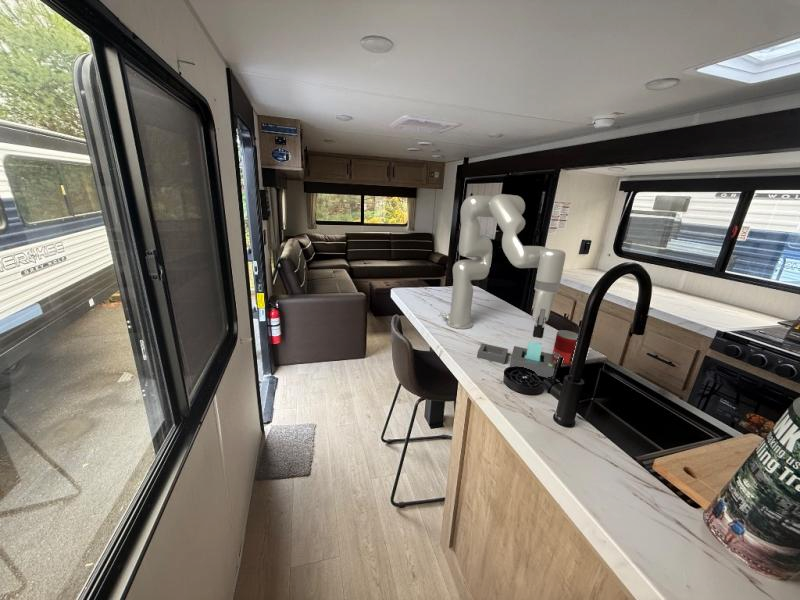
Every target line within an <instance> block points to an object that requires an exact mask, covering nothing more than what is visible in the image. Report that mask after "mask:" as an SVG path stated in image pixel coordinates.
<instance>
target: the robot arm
mask: <svg viewBox="0 0 800 600" xmlns="http://www.w3.org/2000/svg"><path fill="white" fill-rule="evenodd" d="M525 210H526V203H525V201H524V199H523V198H522V197H521V196H519V195H515V194H514V195H513V194H505V193H500V194H496V195H493V196H489V195H481V194H480V195H479V194H478V195H471V196H468V197H466V198H465V199H464V201H463V202H462V205H461V207H460V232H459V241H458V254H459V255H460V256H462V257H465V258H475V259H461V260H460V259H459V260H457V261H456V262H455V263H454V264H453V266H452V279H453V280H452V281H453V283H452V293H451V302H450V303H451V304H450V313H446V312H441V317H442V319H446V321H445V323H446V324H445V325H447V326H449V327H450V328H454V329H459V330H460V329H461V330H467V329H470V328H473V322H471V321H470V319H471V311H472V303H473V297H474V296H473V295H474V288H473V284H472V281H479V280H484V279H486V278H487V277H488V275H489V273H490V268H491V262H492V255H493V243H492V240H491V239H490V238H489V237H487V236H483V235H480V233H481V232H480V231H481V223H480V221H479V219H478V217H481V218H482V217H483V218H493V219H494V220H495V221H496V224H498V226H499V228H500V230H501V231H502V232H503V233H502V238H501V248H502V250H503V253H504V254H505V256H506V257H507V259H508V261H509V262H510V264H512V266H514V267H515V268H519V269H531V268H532V269H534V268H536V269H537V270H536V271H537V273H536V275H535V276H536V277H535V282H534V288H533V289H534V290H535V291H536V294H535V299H534V304H533V309H532V310H533V311H532V316H531V317H532V320H535V323H534V327H533V330H532V331H533V332H532V337H533V338H538V339H543V337H544V333H545V332H544V331H545V324H546V322H548V320H549V319H550V314H551V311H552V310H551V309H552V306H553V300H554V295H555V294H558V293H559V292H560V285H561V281H562V276H563V271H564V266H565V262H566V261H565V260H566V251H564V250H560V249H556V248H555V249H554V248H548V247H545V246H542V245H541V246H539V245H523V244H522V242H521V241H520V239H519V238H518V234H519V233H520V232H521V231H522V230H524V228H525V225H526V219H525V218H524V217H523V214H524V212H525Z"/></svg>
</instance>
